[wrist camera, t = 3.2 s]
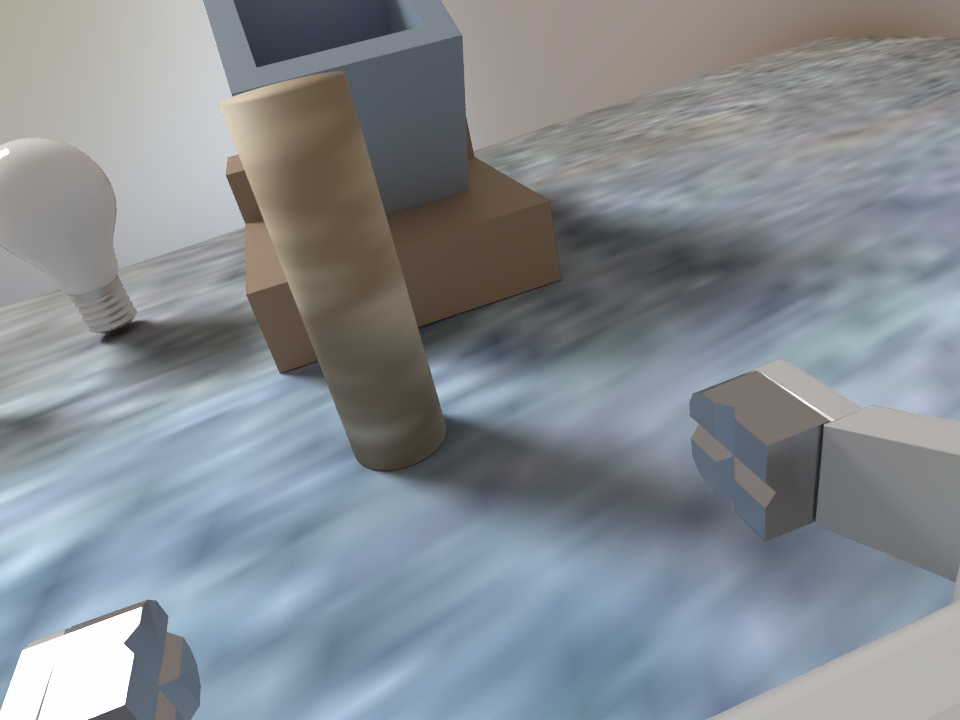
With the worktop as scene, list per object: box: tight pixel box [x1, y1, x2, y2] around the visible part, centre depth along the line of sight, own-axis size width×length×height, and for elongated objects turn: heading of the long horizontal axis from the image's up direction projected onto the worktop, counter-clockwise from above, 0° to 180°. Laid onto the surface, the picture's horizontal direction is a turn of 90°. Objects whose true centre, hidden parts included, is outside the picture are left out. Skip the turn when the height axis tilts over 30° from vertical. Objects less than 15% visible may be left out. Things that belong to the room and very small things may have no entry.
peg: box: [219, 71, 446, 471], centre depth 20 cm, size 3×3×12 cm
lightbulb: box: [0, 138, 137, 334], centre depth 35 cm, size 6×6×11 cm
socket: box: [203, 0, 561, 373], centre depth 34 cm, size 14×17×16 cm
